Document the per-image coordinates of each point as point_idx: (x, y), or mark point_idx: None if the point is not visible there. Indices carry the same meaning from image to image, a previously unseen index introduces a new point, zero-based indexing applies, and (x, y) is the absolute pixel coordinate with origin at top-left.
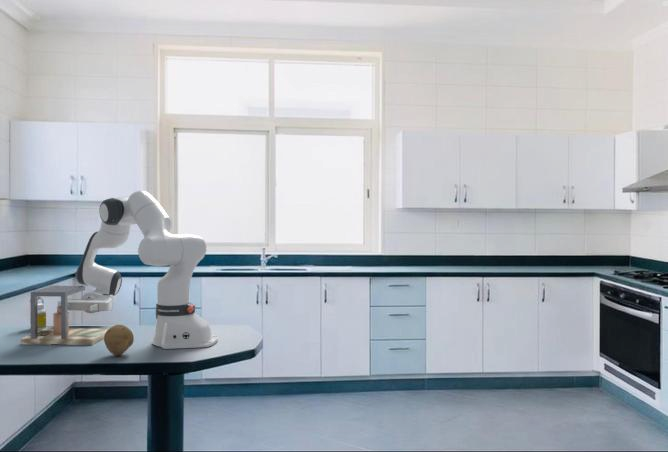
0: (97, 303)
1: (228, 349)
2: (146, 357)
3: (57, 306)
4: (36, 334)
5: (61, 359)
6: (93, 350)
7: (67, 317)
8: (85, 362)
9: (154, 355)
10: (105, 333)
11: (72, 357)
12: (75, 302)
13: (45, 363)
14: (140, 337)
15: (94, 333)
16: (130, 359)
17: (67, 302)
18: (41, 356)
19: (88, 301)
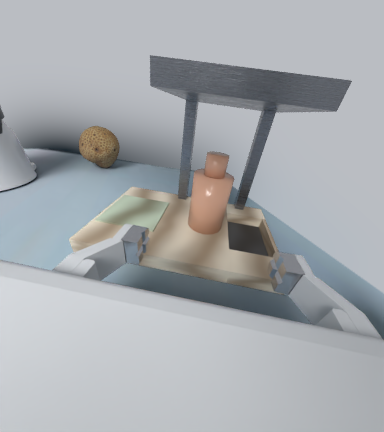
0: (55, 273)
1: None
2: (76, 159)
3: (227, 155)
4: (236, 200)
5: (166, 171)
6: (132, 181)
7: (181, 157)
8: (141, 164)
9: (63, 160)
10: (116, 138)
11: (156, 172)
12: (283, 319)
13: (179, 169)
14: (19, 212)
15: (127, 206)
16: None
17: (377, 339)
18: (192, 180)
19: (142, 317)
